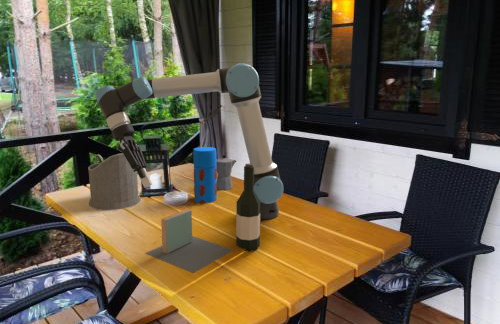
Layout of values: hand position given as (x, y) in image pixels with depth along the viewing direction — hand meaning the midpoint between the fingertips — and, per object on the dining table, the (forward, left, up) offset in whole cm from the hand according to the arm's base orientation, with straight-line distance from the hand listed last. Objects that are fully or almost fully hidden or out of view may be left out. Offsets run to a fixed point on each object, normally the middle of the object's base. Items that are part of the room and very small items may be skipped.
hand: (148, 185), depth 140 cm
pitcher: (+33, -42, -20) cm, 57 cm away
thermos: (-11, -47, -20) cm, 53 cm away
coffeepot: (-16, -68, -20) cm, 73 cm away
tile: (-12, +8, -19) cm, 24 cm away
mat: (-17, +11, -20) cm, 29 cm away
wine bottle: (-36, +3, -20) cm, 42 cm away
